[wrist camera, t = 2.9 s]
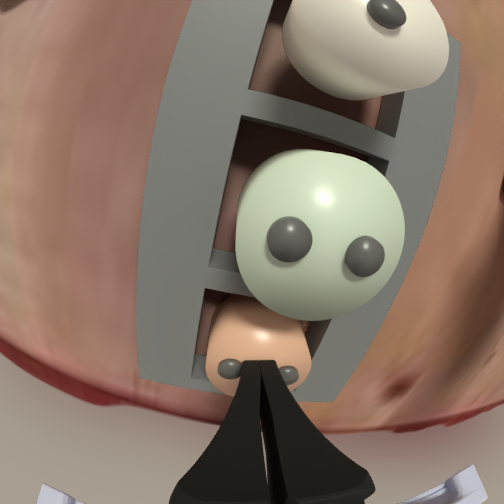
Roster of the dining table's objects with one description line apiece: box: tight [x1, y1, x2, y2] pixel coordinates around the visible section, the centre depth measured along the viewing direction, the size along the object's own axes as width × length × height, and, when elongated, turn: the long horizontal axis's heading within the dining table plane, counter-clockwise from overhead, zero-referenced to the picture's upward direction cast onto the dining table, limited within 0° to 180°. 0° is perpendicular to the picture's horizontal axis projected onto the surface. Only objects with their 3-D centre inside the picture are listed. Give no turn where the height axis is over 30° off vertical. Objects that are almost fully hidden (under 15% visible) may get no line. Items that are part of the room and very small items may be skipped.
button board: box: [136, 0, 460, 402], centre depth 11 cm, size 12×22×2 cm, turn 167°
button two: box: [235, 149, 405, 321], centre depth 8 cm, size 5×5×4 cm
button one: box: [282, 0, 449, 101], centre depth 6 cm, size 5×5×4 cm
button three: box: [205, 294, 311, 397], centre depth 13 cm, size 5×5×4 cm
